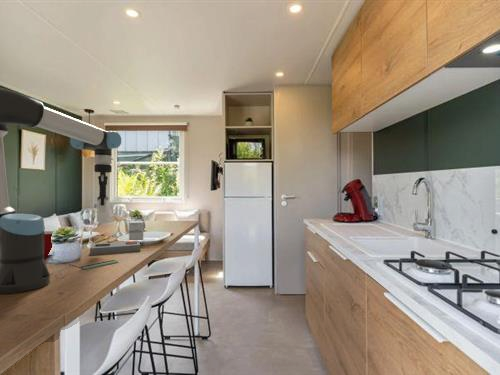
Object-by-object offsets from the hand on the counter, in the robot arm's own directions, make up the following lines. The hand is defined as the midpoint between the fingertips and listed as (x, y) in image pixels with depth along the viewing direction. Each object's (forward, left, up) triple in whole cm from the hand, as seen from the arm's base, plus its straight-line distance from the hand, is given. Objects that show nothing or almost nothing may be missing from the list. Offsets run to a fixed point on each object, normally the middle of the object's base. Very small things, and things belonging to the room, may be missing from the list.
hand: (102, 211), depth 144 cm
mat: (-12, -15, -20) cm, 28 cm away
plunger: (+11, -6, -19) cm, 23 cm away
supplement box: (+24, +9, -21) cm, 33 cm away
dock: (+5, -3, -20) cm, 21 cm away
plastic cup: (-20, +13, -21) cm, 31 cm away
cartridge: (0, 0, -5) cm, 5 cm away
